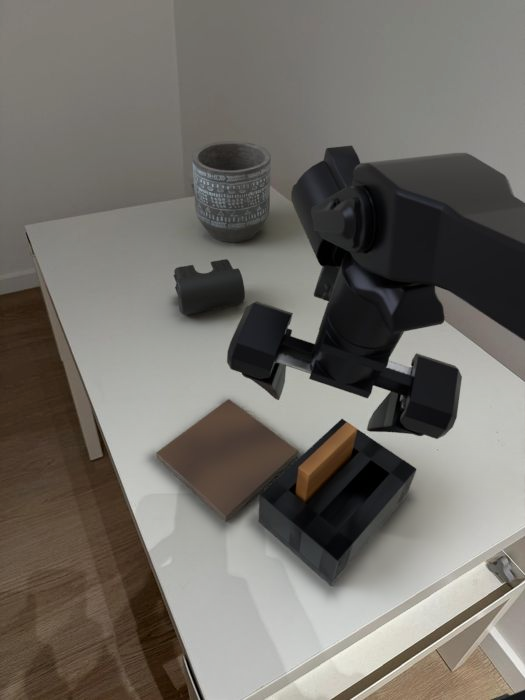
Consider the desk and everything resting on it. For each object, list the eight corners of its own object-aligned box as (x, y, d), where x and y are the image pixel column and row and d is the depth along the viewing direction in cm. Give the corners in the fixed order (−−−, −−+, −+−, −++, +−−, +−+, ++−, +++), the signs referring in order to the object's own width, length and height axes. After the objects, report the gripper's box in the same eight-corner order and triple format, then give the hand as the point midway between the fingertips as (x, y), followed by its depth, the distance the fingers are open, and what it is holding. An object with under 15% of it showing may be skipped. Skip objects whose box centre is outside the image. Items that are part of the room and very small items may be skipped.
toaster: (410, 491, 59) (421, 463, 56) (331, 586, 51) (337, 561, 47) (341, 442, 64) (347, 413, 61) (258, 522, 56) (259, 494, 52)
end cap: (184, 326, 80) (180, 290, 76) (174, 299, 85) (170, 265, 80) (245, 313, 83) (245, 278, 78) (232, 288, 88) (231, 254, 83)
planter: (208, 209, 108) (204, 137, 98) (274, 216, 106) (277, 144, 96) (187, 243, 98) (180, 167, 88) (261, 253, 96) (262, 176, 86)
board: (297, 456, 62) (298, 450, 62) (226, 522, 56) (225, 516, 55) (228, 404, 68) (228, 398, 68) (157, 458, 62) (155, 452, 61)
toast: (347, 474, 60) (357, 428, 54) (302, 520, 55) (309, 475, 49) (337, 467, 60) (347, 421, 54) (292, 512, 56) (298, 467, 50)
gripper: (503, 274, 40) (429, 374, 53) (276, 205, 42) (259, 318, 55) (492, 393, 34) (412, 472, 47) (228, 306, 36) (221, 406, 49)
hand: (323, 410), depth 50 cm, fingers open, 9 cm apart
